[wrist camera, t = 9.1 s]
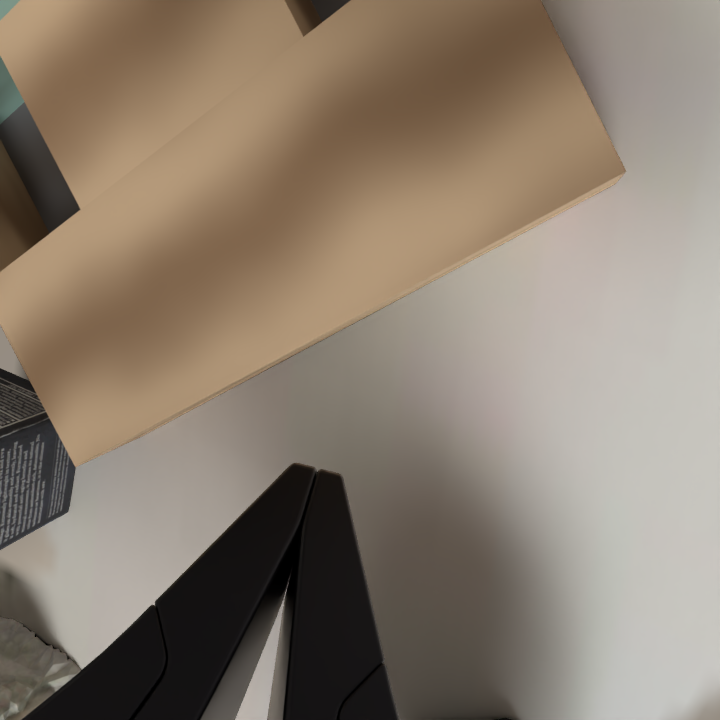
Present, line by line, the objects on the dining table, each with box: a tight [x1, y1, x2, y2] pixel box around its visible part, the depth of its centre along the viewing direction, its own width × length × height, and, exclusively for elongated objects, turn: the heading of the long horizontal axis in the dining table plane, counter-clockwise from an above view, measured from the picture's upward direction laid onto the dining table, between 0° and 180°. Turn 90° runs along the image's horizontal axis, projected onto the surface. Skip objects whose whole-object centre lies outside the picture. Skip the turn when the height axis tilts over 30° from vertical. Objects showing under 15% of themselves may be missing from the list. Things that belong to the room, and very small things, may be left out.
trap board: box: [0, 0, 626, 467], centre depth 22 cm, size 23×22×4 cm
